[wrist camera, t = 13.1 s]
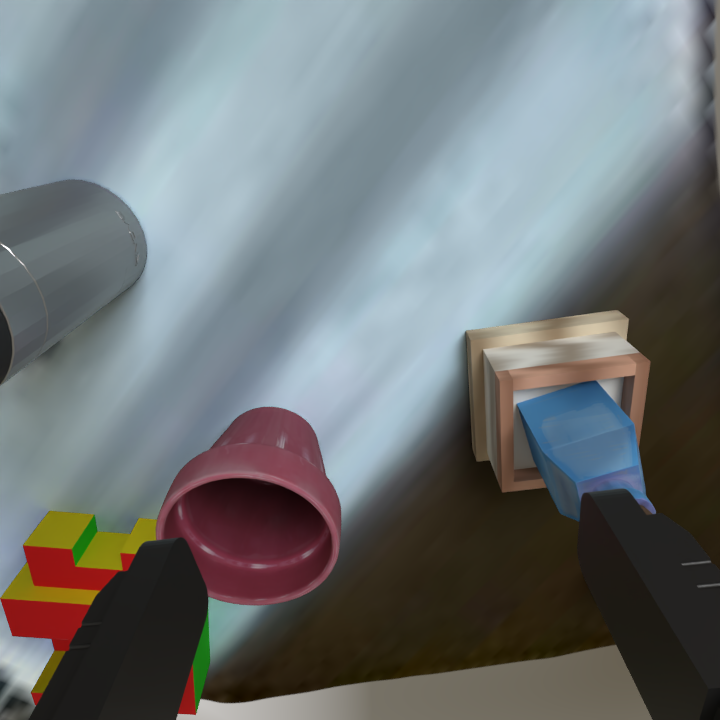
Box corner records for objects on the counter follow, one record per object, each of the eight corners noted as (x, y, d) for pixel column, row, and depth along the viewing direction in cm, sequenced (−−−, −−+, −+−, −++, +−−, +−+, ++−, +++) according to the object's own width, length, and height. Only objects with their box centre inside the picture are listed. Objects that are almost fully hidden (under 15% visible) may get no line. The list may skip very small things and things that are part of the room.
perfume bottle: (594, 378, 38) (686, 482, 27) (606, 438, 41) (695, 554, 30) (516, 403, 39) (576, 513, 28) (533, 460, 42) (593, 580, 31)
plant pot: (359, 485, 51) (359, 594, 39) (231, 509, 52) (196, 620, 41) (322, 367, 44) (310, 456, 33) (178, 398, 46) (119, 493, 34)
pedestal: (472, 448, 49) (490, 502, 42) (465, 330, 43) (485, 371, 36) (605, 432, 48) (645, 485, 41) (617, 310, 42) (666, 347, 35)
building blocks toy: (205, 521, 53) (138, 701, 37) (210, 659, 65) (161, 844, 48) (28, 507, 52) (-121, 685, 36) (64, 650, 64) (-36, 835, 47)
